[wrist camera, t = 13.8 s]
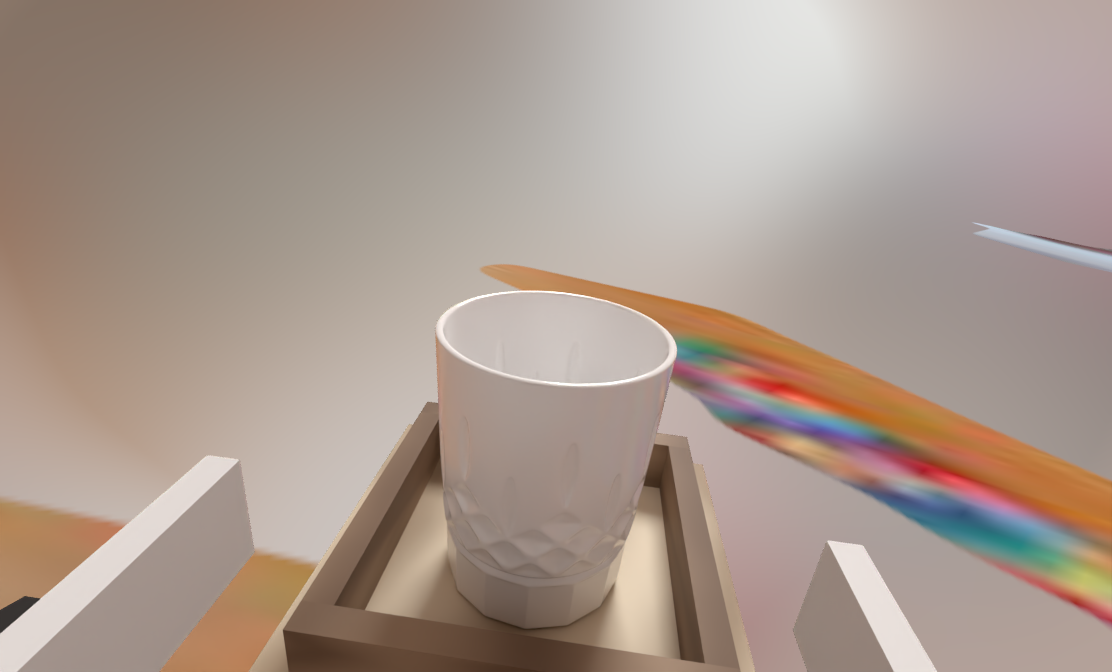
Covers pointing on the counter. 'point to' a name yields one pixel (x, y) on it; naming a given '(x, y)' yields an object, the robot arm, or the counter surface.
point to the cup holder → (494, 646)
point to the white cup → (545, 446)
